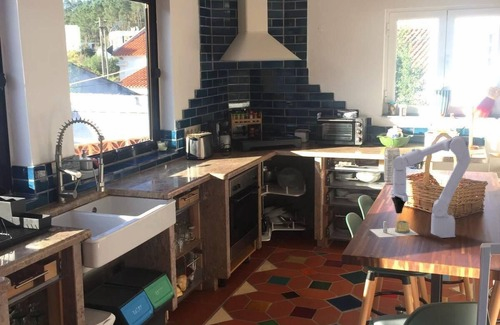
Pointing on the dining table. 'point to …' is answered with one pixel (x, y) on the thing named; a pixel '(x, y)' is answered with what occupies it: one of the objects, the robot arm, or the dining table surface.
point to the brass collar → (402, 226)
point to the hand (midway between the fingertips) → (398, 213)
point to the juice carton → (390, 163)
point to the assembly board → (391, 231)
